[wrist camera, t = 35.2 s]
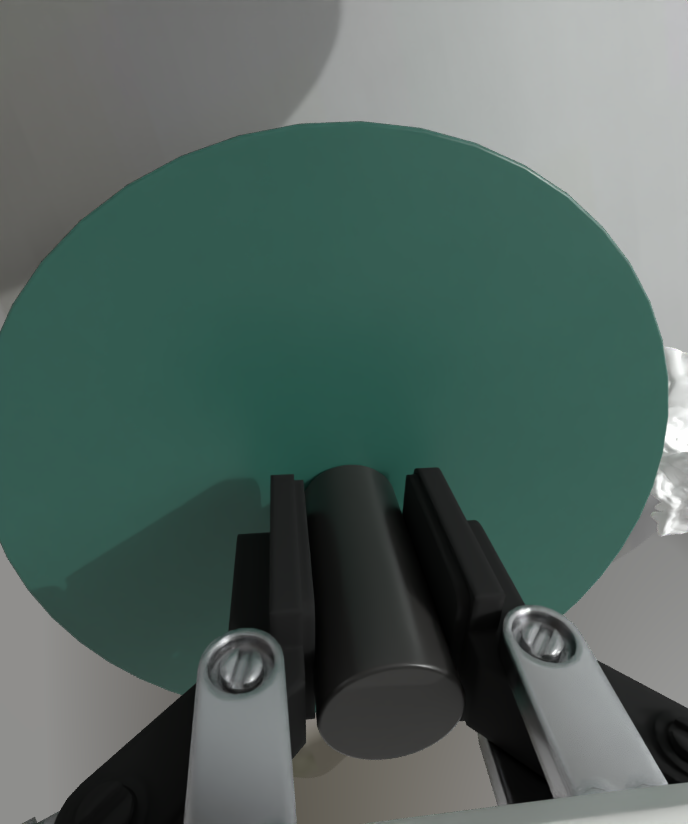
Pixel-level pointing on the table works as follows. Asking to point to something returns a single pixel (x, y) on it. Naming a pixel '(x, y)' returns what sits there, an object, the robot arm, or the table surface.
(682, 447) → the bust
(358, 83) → the table surface
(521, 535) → the lid
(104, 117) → the table surface
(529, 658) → the robot arm
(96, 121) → the table surface
